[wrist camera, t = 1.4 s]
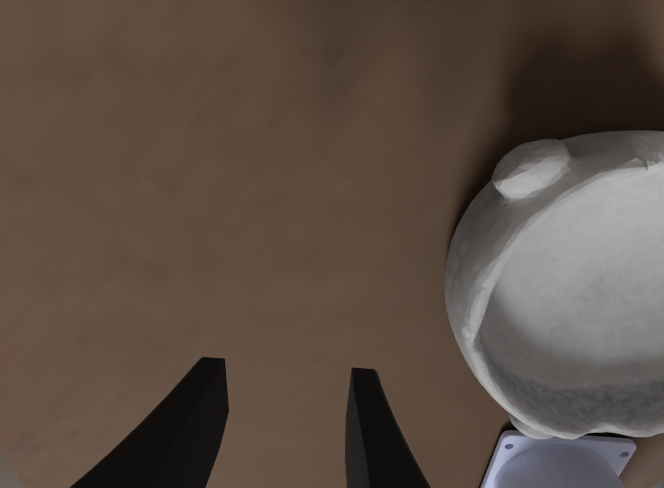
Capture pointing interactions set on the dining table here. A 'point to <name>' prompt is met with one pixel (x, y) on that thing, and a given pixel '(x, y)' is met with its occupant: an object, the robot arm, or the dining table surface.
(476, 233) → the dish
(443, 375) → the dining table surface
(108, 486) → the robot arm
